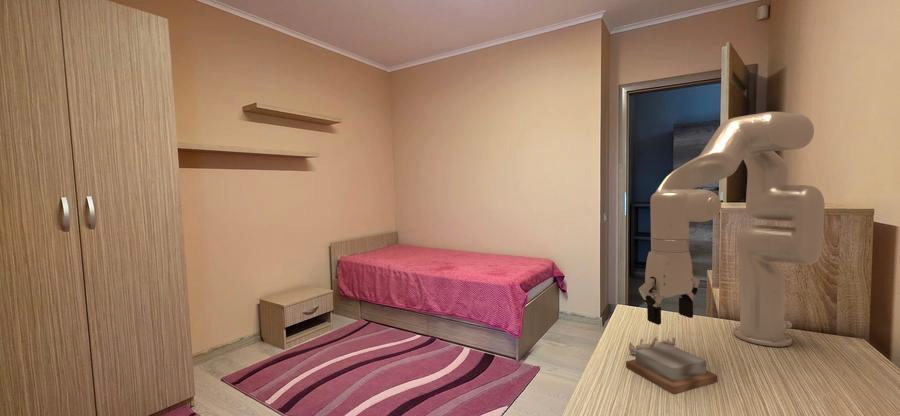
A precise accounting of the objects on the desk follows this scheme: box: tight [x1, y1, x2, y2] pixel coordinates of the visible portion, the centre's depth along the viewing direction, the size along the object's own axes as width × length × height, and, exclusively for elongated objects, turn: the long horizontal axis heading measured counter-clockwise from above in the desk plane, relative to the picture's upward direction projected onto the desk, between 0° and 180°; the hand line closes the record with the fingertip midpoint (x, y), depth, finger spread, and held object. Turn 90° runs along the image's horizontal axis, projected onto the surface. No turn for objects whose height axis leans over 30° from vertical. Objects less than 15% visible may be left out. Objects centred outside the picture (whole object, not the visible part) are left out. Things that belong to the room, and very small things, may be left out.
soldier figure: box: [628, 336, 676, 354], centre depth 99 cm, size 8×5×12 cm
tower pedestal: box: [625, 344, 718, 395], centre depth 88 cm, size 13×13×4 cm
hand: (670, 319), depth 87 cm, fingers open, 9 cm apart
